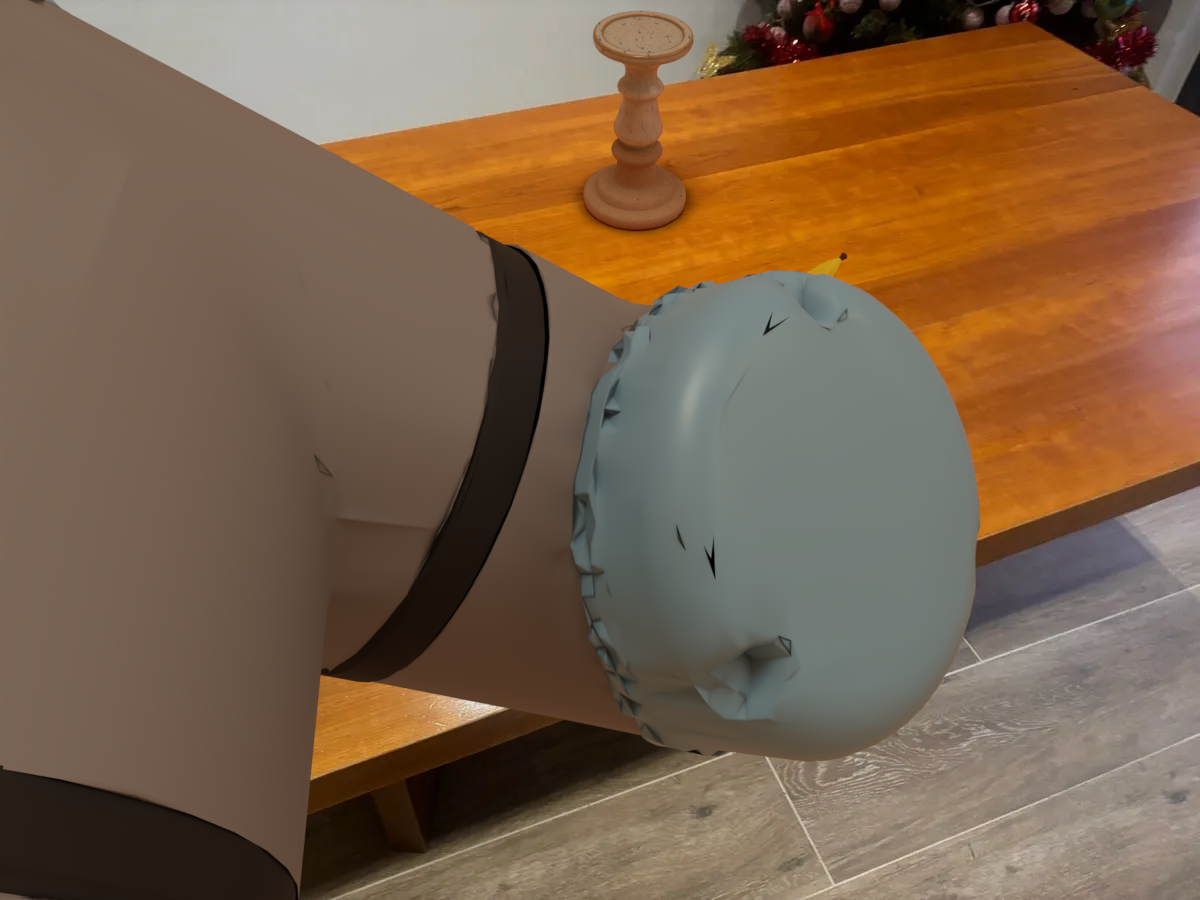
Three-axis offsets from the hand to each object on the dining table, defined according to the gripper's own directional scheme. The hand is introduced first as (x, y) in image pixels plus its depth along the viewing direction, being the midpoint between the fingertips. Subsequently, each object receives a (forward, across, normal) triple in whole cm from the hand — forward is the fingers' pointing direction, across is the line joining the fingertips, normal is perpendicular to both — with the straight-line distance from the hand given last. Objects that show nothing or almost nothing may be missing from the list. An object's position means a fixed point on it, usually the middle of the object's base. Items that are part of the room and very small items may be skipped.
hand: (236, 562), depth 42 cm
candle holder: (+36, +68, -2) cm, 77 cm away
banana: (+21, +59, -18) cm, 65 cm away
